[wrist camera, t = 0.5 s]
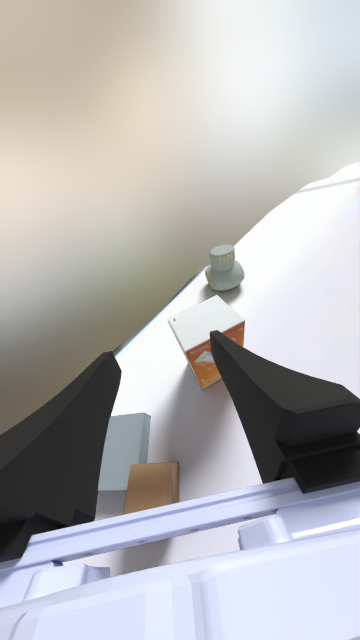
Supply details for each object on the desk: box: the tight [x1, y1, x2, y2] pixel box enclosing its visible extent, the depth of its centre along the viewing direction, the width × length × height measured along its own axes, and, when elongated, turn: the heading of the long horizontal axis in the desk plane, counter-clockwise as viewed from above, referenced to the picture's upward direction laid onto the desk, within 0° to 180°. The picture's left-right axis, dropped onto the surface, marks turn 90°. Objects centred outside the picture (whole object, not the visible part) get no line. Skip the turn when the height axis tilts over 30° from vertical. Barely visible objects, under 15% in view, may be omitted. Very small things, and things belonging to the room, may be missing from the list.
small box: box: [168, 295, 245, 390], centre depth 23 cm, size 8×6×13 cm
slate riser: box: [98, 413, 151, 491], centre depth 22 cm, size 8×8×3 cm
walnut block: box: [123, 462, 179, 515], centre depth 17 cm, size 4×4×5 cm
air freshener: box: [205, 245, 244, 291], centre depth 40 cm, size 11×8×10 cm
